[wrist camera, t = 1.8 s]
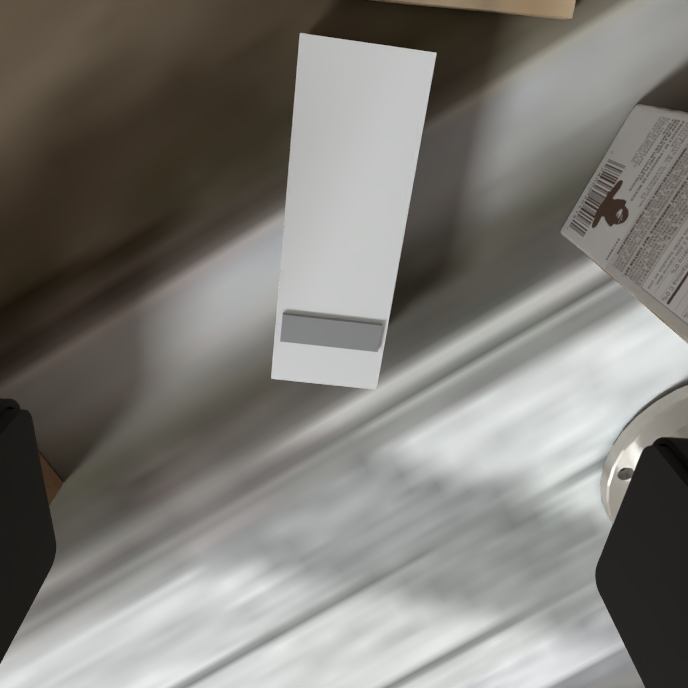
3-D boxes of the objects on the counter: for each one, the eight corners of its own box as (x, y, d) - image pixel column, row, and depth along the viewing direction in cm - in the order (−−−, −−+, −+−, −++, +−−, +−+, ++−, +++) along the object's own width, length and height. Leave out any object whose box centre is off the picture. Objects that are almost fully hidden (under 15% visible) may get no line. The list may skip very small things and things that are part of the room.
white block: (418, 51, 24) (437, 52, 19) (370, 337, 29) (376, 392, 25) (307, 35, 23) (299, 32, 19) (281, 327, 29) (270, 380, 25)
